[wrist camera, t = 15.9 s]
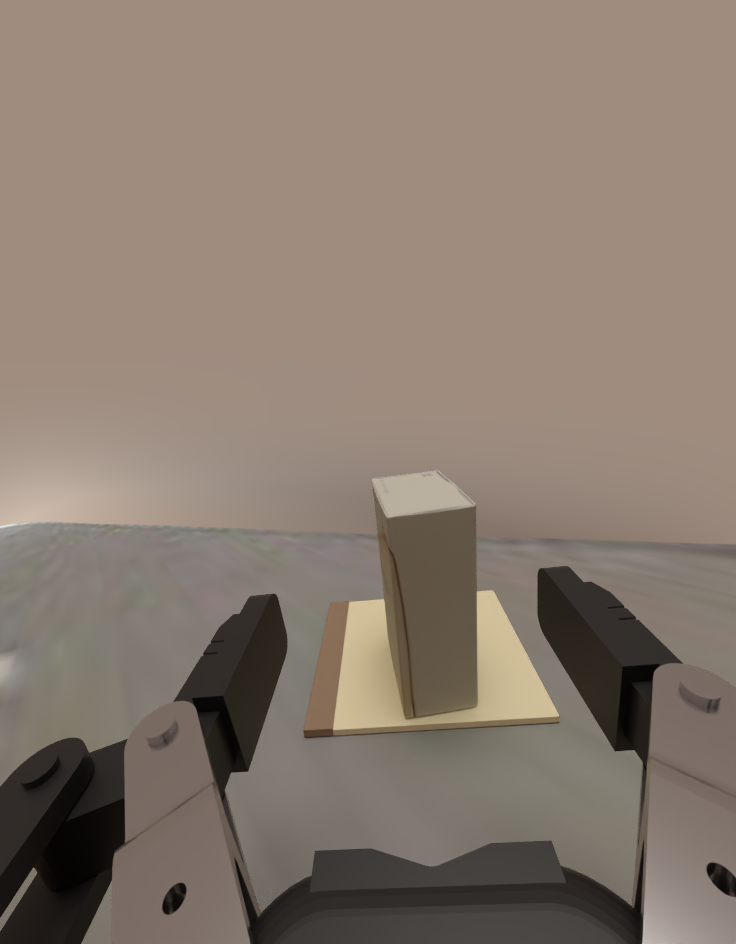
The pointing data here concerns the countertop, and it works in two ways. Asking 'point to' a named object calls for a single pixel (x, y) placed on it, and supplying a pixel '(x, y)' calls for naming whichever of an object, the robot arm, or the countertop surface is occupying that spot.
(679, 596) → the countertop surface
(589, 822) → the countertop surface
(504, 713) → the notepad
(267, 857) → the countertop surface
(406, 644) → the skincare box
